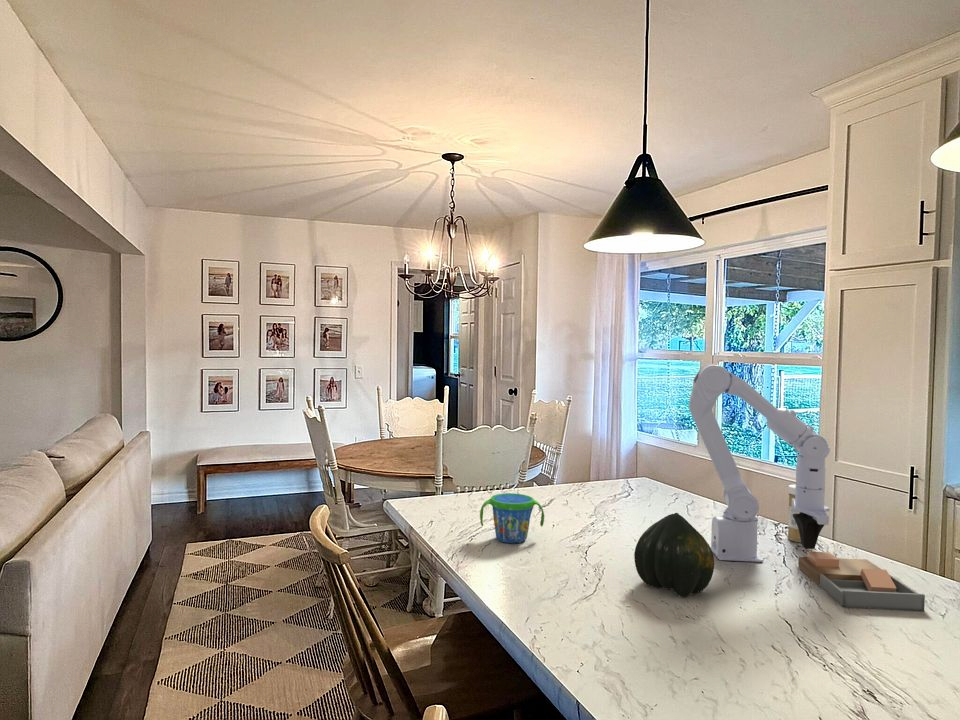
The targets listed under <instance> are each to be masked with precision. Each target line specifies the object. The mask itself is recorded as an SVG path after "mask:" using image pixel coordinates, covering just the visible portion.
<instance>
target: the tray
mask: <svg viewBox="0 0 960 720" xmlns="http://www.w3.org/2000/svg"><path fill="white" fill-rule="evenodd" d="M892 581H893V583H894V584H895V586H896V588H897V589H896V591H895V593H894V592H873V591H868V589H867V587H866V585H865V583H864V581H856V580H834V579H828V578H827V577H826V576H824V575H823V574H820V585H819V587H820V588H821V589H822V590H823V592H825V593H827V595H829V596H830V597H831V598H832V599H833V600H834V601H836V603H837V604H839V605H840V606H842V608H849V609H850V608H851V609H852V608H853V609H869V610H872V609H874V610H891V611H908V612H909V611H911V612H912V611H913V612H925V606H926V605H925V603H926V602H925V601H926V595H925V594H924V593H919V592H918V591H915V590H914V589H913V588H911V587H909V586H908V585H906V584H905V583H903V582H902V581H900V579H898V578H896V577H895V576H892Z"/></svg>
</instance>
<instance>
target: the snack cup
mask: <svg viewBox="0 0 960 720" xmlns="http://www.w3.org/2000/svg"><path fill="white" fill-rule="evenodd" d="M487 505H491V507H492V514H493V515H492V516H493V525H494V531H495V538H496V539H497V540H498V541H499V542H502V543H505V544H506V543H507V544H515V543H519V544H521V543H522V542H524V541H526V540H527V539H528V535H529V529H530V523H531V516H532V511H533V509H534V506H535V505H537V506H538V508H539V509H540V512H541V515H540V516H541V517H540V522H539V524H540V527H541V528H542V527H543V526H544V522H545V511H544V509H543V507H542V505H541V503H539V502H538V501H537V500H535V499H534V498H533V497H532V496H530V495H526V494H522V493H521V494H520V493H513V492H512V493H510V492H509V493H508V492H507V493H498V494H494V495H492V496H491V497H490V498H489V499H487V500H485V501H484V502H483V504H482V505H481V508H480V510H479V511H480V512H479V520H480V524H481V526H482V527H484V521H483V518H484V517H483V516H484V508H485V507H486V506H487Z"/></svg>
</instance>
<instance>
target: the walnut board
mask: <svg viewBox="0 0 960 720" xmlns="http://www.w3.org/2000/svg"><path fill="white" fill-rule="evenodd" d="M837 558H838V559H839V567H822V566H815V565H814V564H813V563H812V562H810V561H809V560H808V559H807V556H798V569H799V570H801V572H803V573H804V574H805V575H806V576H807V577H809V578H810V579H811V580H812V581H813V582H814V583H815V584H816V585H817V586H820V574H823V575H824V576H826V577H827V578H828V579H834V580H856V581H863V579H862V577H861V575H860V573H861V570H862V569H880V570H883V569H882V568H881V567H880V566H878V565H875V563H873V562H872V561H870V560H868V559H864V558H863V559H862V558H843V557H841V558H839V557H837ZM889 575H890V574H889ZM890 577H891V579H892V577H893V576H892V575H890Z"/></svg>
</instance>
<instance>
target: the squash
mask: <svg viewBox="0 0 960 720" xmlns="http://www.w3.org/2000/svg"><path fill="white" fill-rule="evenodd" d="M633 557H634V565H635V569H636V572H637V574H638V576H639V577H640V579H641V581H642V582H643V583H644V584H646V585H647V586H648V587H651V588H655V589H665V590H666V591H667V590H668V591H670V590H673V592H674V594H675V595H677V596H679V597H681V598H685V597H688V596H690V595H692V594H699V593H701V592H703V591H704V590H705V589H706V588H707V587H708V585H709V584H710V582H711V580H712V578H713V575H714V570H715V557H714V553H713V551H712V549H711V545H710V544H709V543H708V541H707V540H706V538H705V537H704V536H703V535H702V534H701V532H699V531H698V530H697V529H696V528H695V527H694V526H693V525H692V524H691V523H690V522H689V521H688V520H687V519H686V518H685V517H684V516H682V515H680V513H678V512H675V513H671V514H668V515H666V516H664V517H663V518H660V519H659V520H658V521H656V522H654V523H653V524H652V525H650V526H649V527H648V528H647V529H646V530H644V532H643V533H642V534H641V535H640V537H639V539H638V540H637V543H636V546H635V548H634V553H633Z"/></svg>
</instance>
